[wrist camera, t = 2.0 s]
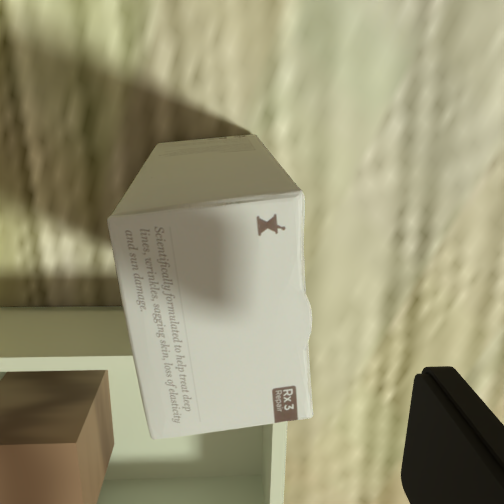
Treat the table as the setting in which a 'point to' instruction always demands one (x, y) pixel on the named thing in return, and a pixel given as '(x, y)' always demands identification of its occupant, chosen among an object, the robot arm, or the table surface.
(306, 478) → the table surface
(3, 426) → the walnut block
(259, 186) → the skincare box
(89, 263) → the table surface
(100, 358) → the tray
